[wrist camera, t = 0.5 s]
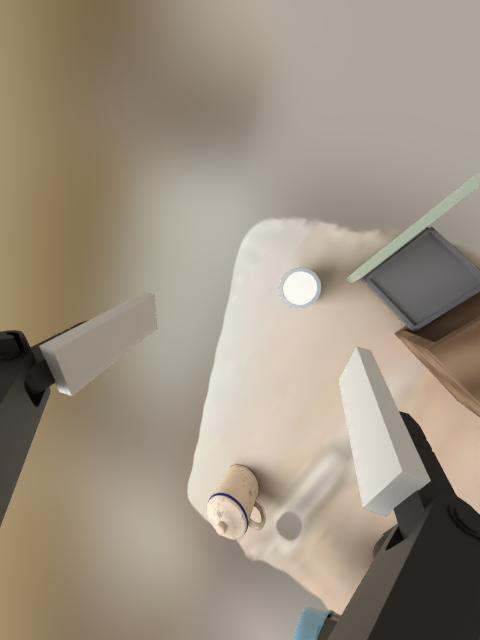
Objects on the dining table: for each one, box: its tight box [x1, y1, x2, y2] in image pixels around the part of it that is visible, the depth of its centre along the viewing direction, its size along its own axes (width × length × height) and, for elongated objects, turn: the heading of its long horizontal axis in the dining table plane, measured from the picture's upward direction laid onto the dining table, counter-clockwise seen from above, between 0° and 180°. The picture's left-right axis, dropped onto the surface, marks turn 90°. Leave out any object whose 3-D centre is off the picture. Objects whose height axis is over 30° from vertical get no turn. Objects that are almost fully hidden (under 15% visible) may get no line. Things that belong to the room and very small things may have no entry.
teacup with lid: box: [207, 465, 266, 539], centre depth 44 cm, size 12×9×12 cm
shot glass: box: [279, 267, 321, 309], centre depth 37 cm, size 7×7×7 cm
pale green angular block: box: [346, 171, 480, 332], centre depth 28 cm, size 13×15×11 cm
